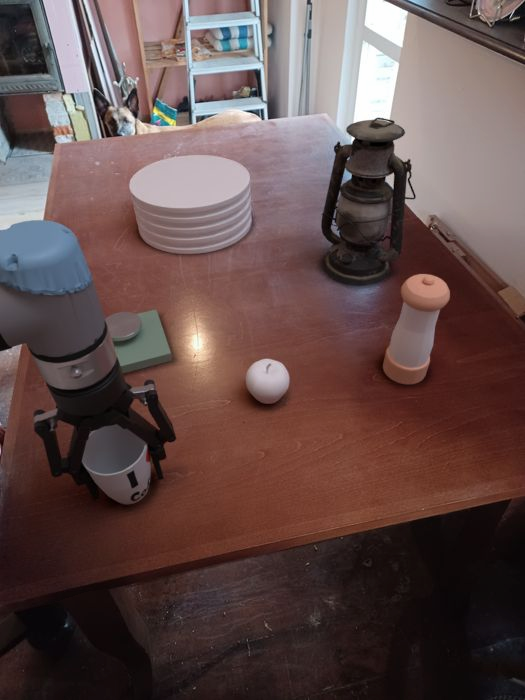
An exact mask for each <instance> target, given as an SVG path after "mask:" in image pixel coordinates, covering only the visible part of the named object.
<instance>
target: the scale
mask: <svg viewBox="0 0 525 700" xmlns="http://www.w3.org/2000/svg"><path fill="white" fill-rule="evenodd" d="M136 314H137V315H138V316H139V317H140V318H141V322H142V328H141V330H140V332H139V333H138V334H137V335H135V336H134V337H132V338H130V339H127V340H123V341H113V344H114V347H115V351H116V356H117V358H118V360H119V363H120V366H121V369H122V372H123V374H127V373H131V372H134V371H139V370H142V369H146V368H149V367H154V366H158V365H161V364H165V363H169V362H172V361H173V356H172V351H171V349H170V346H169V343H168V339H167V336H166V334H165V330H164V328H163V325H162V322H161V318H160V316H159V313H158V310H157V309H152V310H148V311H143V312H139V313H136Z"/></svg>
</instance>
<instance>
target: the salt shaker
mask: <svg viewBox="0 0 525 700" xmlns="http://www.w3.org/2000/svg"><path fill="white" fill-rule="evenodd" d="M400 294H401V299H402V301H403V303H402V307H401V311H400V314H399V315H400V316H399V318H398V320H397V322H396V324H395V326H394V328H393V330H392V333H391V338H390V342H389V345H388V346H387V348H386V350H385V354H384V358H383V364H382V369H383V372H384V374H385V375H386V376H387V377H388V378H389V379H390V380H392V381H394V382H396V383H398V384H402V385H415V384H418V383H420V382H422V381H423V380H424V379H425V377H426V375H427V372H428V370H429V365H430V363H431V353H432V349H433V347H434V341H435V331H436V325H437V322H438V318H439V315H440V312H441V309H443V308H444V307H445V306H447V304H448V303H449V301H450V300H451V291H450V288H449V286H448V284H447V282H445V281H444V280H443V278H440V277H438V276H436V275H433V274H427V273H418V274H414V275H412V276H410V277H408V278H407V279H406V280H405V281H404V282H403V284H402V285H401V287H400Z"/></svg>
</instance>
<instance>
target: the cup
mask: <svg viewBox="0 0 525 700" xmlns="http://www.w3.org/2000/svg"><path fill="white" fill-rule="evenodd" d="M82 463H83V465H84V466H85V468H86V469H87V471H88V472H89V474H90V476H91V477H92V479H93V480H94V482H95V483H96V484H97V485H98V488H100V490H102V492H104V494H105V495H107V496H108V498H110V499H112V500H114V501H116V502H117V503H119V504H121V505H133V504H136V503H138V502H140V501H141V500H142V499H143V498H145V496H146V495H147V493H148V491H149V488H150V483H151V480H152V459H151V456H150V453H149V448H148V444H147V443H146V442H145V441H143V440H142V439H140V438H139V437H138V436H136V435H135V434H134V433H132V432H131V431H129V430H128V429H125V430H124V429H123V428H121V427H120V426H119V425H117V424H116V425H112V426H105V427H102V428H100V429H98V430H95V431H91V432H90V434H89V438H88V440H87V441H86V446H85V450H84V454H83V458H82Z"/></svg>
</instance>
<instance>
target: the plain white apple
mask: <svg viewBox="0 0 525 700" xmlns="http://www.w3.org/2000/svg"><path fill="white" fill-rule="evenodd" d="M290 381H291V380H290V374H289V370H288V369H287V368H286V366H285V364H283V363H282V362H281V361H278V360H275V359H271V358H262V359H259V360H257V361H255V362H253V363H252V364H251V365H250V366H249V368H248V370H247V371H246V374H245V385H246V388H247V390H248V392H249V393H250V394H251V396H253V398H254V399H255V400H257V401H258V402H260V403H261V404H266V405H271V404H275V403H277V402H278V401H280V400H281V399H282V397H283V396H284V395H285V394H286V393H287V391H288V389H289V387H290Z"/></svg>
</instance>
